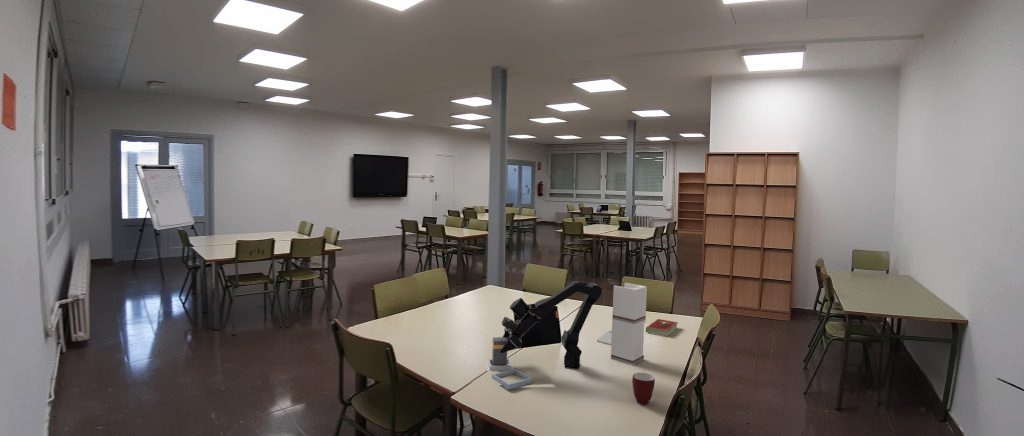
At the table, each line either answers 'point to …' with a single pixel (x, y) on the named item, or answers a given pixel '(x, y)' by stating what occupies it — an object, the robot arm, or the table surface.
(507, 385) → the light blue square frame
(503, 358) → the block
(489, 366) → the dock
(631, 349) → the banded white pillar
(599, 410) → the table surface
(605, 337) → the gadget
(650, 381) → the mug
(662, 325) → the hardcover book
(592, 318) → the table surface
